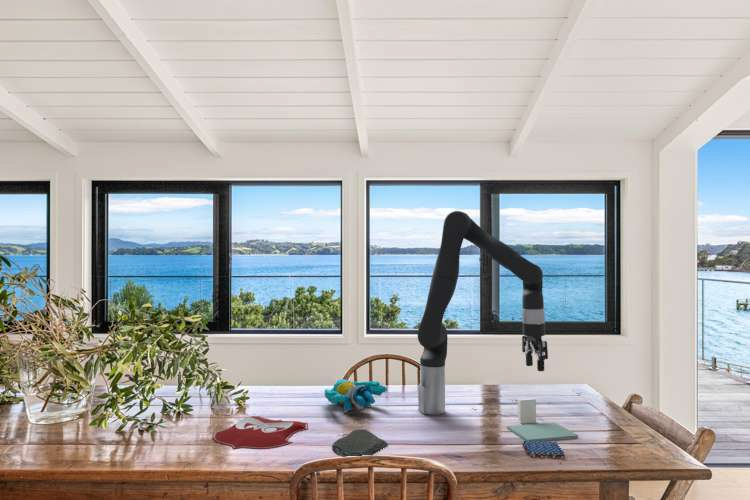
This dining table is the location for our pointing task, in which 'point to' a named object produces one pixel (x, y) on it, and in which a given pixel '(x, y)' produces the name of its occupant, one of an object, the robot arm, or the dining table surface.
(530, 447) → the woven mat
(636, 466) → the dining table surface
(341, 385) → the toy
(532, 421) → the rectangular block
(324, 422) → the dining table surface
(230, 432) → the emblem
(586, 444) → the dining table surface
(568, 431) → the mat
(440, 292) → the robot arm
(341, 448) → the stone slab
